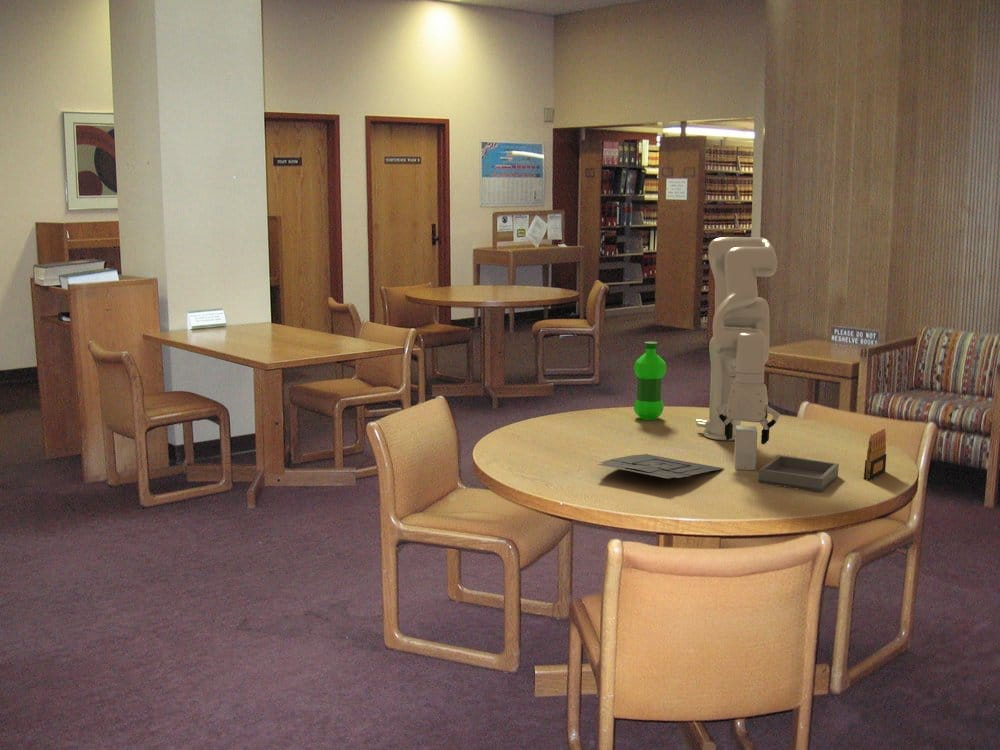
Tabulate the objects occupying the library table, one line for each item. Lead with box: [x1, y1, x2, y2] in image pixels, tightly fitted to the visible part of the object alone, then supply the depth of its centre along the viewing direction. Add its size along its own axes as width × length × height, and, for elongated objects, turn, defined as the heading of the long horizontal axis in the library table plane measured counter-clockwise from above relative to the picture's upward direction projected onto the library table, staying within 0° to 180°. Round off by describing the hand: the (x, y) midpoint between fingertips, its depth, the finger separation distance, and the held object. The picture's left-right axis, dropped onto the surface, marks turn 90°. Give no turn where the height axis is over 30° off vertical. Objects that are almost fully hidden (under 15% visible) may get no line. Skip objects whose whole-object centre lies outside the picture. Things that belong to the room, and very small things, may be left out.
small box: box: [733, 425, 758, 471], centre depth 281 cm, size 8×6×10 cm
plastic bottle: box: [633, 341, 667, 421], centre depth 336 cm, size 10×10×25 cm
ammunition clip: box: [863, 428, 887, 481], centre depth 273 cm, size 11×2×12 cm, turn 140°
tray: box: [758, 454, 840, 493], centre depth 269 cm, size 16×17×4 cm
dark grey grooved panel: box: [596, 453, 725, 480], centre depth 274 cm, size 24×30×4 cm
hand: (746, 441), depth 280 cm, fingers open, 9 cm apart
